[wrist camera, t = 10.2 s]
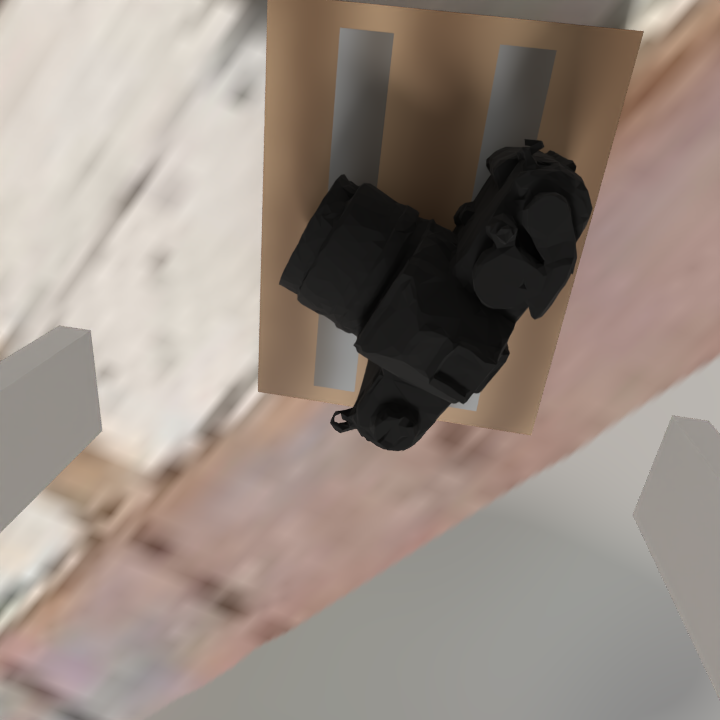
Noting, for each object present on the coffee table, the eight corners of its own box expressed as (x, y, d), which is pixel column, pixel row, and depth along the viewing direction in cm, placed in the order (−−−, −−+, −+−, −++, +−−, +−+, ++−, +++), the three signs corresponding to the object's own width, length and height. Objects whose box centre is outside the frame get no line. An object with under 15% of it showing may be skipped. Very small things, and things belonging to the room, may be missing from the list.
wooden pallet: (271, 369, 36) (257, 391, 33) (285, 3, 27) (267, -7, 25) (524, 408, 35) (531, 435, 32) (623, 37, 26) (643, 31, 23)
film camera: (413, 55, 25) (396, 37, 17) (590, 176, 26) (655, 213, 18) (264, 322, 31) (201, 401, 23) (411, 410, 32) (399, 514, 24)
